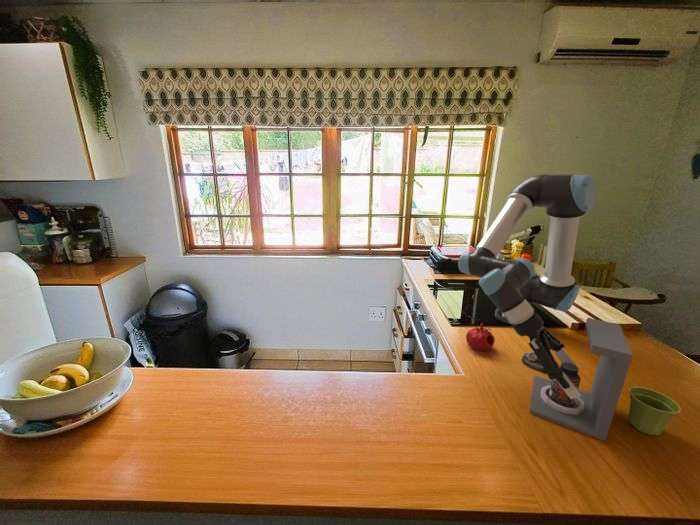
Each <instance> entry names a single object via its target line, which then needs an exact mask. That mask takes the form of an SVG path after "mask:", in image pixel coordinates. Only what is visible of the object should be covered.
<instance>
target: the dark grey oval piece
mask: <svg viewBox="0 0 700 525" xmlns="http://www.w3.org/2000/svg"><path fill="white" fill-rule="evenodd" d="M521 362H522V364H523V365H524V366H526V367H528V368H530V369H534V370H536V371H539V372H541V373H546V371H545V369H544V368H543V366H542V364H541V363H540V361H539V359H538V358H537V356H536V354H535V353H534V351H533V350H532V351H527V352H526V351H524V352H523V356H522V358H521ZM557 364H558V366H559V363H558V362H557ZM559 367H560V366H559ZM546 374H547V373H546Z"/></svg>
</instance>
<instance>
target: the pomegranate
mask: <svg viewBox="0 0 700 525" xmlns="http://www.w3.org/2000/svg"><path fill="white" fill-rule="evenodd" d="M473 327H474V328H471V329H468V331H467V333H466V335H465V339H466V342H467V344H468V346H470V348H471V349H473V350H476V351H479V352H487V351H490V350H492V348H493V347H494V345H495V342H496V339H495V336H494V335H493V334H492V332H491V331H492V329H491V328H486V327H484V324H483V323H480V327H477V326H475V325H473Z"/></svg>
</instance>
